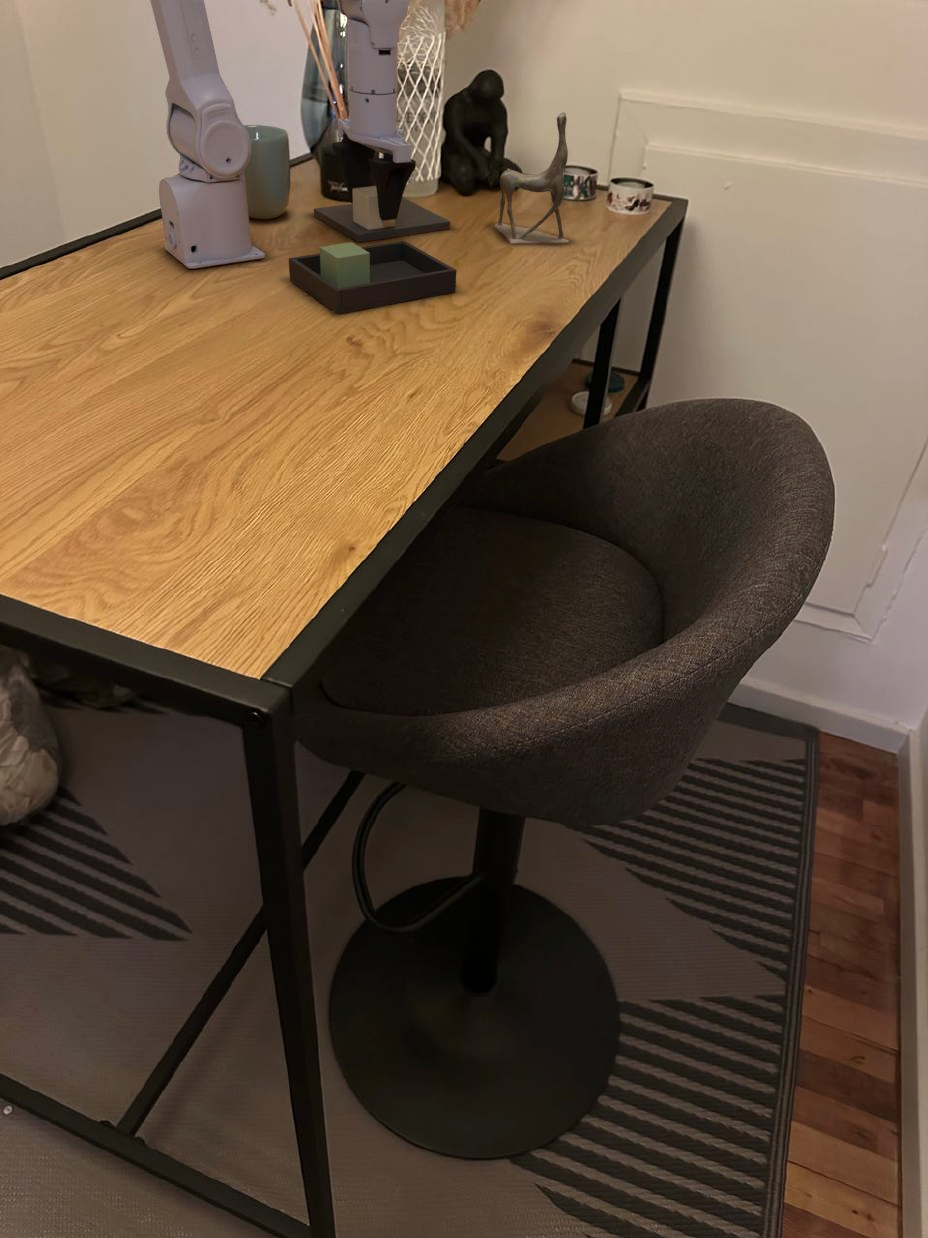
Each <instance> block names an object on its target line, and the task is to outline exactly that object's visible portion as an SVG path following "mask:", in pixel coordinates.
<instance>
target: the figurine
mask: <svg viewBox="0 0 928 1238" xmlns="http://www.w3.org/2000/svg"><path fill="white" fill-rule="evenodd" d="M567 121H568V120H567V113H565V112H561V113H560V114H559V115H557V117H556V126H557V131H558V143H557V147H556V148H557V149H556V152H555V154H554V157H553V159H552V161H551V163H550V165H549V166H548V167H547V168H546V169H545V170H544V171H542V172H539V173H532V174H530V173H529V174H525V173H521V172H519V171H516V170H513V169H510V167H509V168H506V170H505V171H503V172H502V173H501V175H500V177H499V187H500V191H501V199H500V203H499V204H500V207H499V217H498V222H496V223H495V225H493V227H494V229H495V230H497V231H498V232H499V233H501V234H502V235H503V236H504V238H505V239H506V240H507V242H508V243H509V244H512V245H552V244H569V240H568V239H566V238H564V231H563V225H562V218H561V213H560V209H559V208H560V206H561V205H562V203H563V201H564V197H565V180H564V179H565V178H564V176H565V175H564V174H565V170H566V165H567V163H568V157H569V150H568V145H567V139H566V129H567V127H566V126H567ZM516 188H520V189H523V190H525V191H528V192H532V193H546V192H547V193H548V192H549V193H550V195H551V201H552V206H551V208H550V209H549V211H548V212H546V214H545V215H543V217H542V218H541V219H540V220H538V221H537V222H536V223H535V224H534V225H533V226H531V227H530V228H528V227H523V226H518V225H515V221H514V215H513V214H514V213H513V205H512V203H513V195H514V192H515V190H516ZM506 203H507V208H506V213H507V216H508V219H509V222H510V224H507V223H503V218H504V211H505V204H506ZM552 214H555V217H556V224H557V228H558V229H557V230H558V236H557V235H553V234H549V233H547V232H543V231H540V230H536V229H537V228H538V227H540V225H542V224H543V223H544V222H545V221H547V219H548V218H549V217H550V216H551V215H552Z"/></svg>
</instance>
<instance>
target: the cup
mask: <svg viewBox="0 0 928 1238" xmlns="http://www.w3.org/2000/svg"><path fill="white" fill-rule="evenodd" d="M243 125H244V126H245V128H246V129H247V131H248V133H249V136H250V140H251V148H252V149H251V156H250V160H249V162H248V164H247V166H246V168H245V169H244V170H245V173H244V174H245V182H246V193H247V204H248V216H249V218H252V219H255V220H256V219H257V220H271V219H272V220H273V219H276V218H278V217H280V216H281V215H283V214H284V213H285V212H286V210H287V208H288V206H289V202H290V197H291V183H292V182H291V180H292V179H291V156H290V140H289V139H290V138H289V134H288V131H287V130H286V129H284V128H280V127H276V126H272V125H271V126H270V125H262V124H243Z"/></svg>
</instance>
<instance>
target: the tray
mask: <svg viewBox="0 0 928 1238" xmlns="http://www.w3.org/2000/svg"><path fill="white" fill-rule="evenodd" d="M360 247H361V248H362V249H364V250H365V251H367V252H369V253H370V283H367V284H362V285H356V286H350V287H344V288H337V287H336V286H334V285H333V284H331V283H330V282H328V281H327V280H325V279H324V278H323V277H321V265H320V252H318V253H314V254H313V253H312V254H307V255H301V256H294V257H288V269H289V270H288V271H289V281H290V282H291V283H293V284H294V285H296V286H297V287H299V288H300V289H301V290H303V291H304V292H305V293H307V294H308V295H309V296H311V297H312V298H314V299H316V301H318V302H319V303H321V304H322V305H324V306H325V307H326V308H328V309H329V310H330V311H332V312H333V313H334V314H336V315H340V314H341V315H342V314H347V313H351V312H357V311H362V310H367V309H373V308H377V307H378V308H379V307H383V306H384V307H385V306H388V305H395V304H399V303H404V302H411V301H414V300H415V301H416V300H421V299H426V298H431V297H438V296H442V295H447V294H453V293H456V287H457V272H458V271H457V269H455V268H454V267H452V266H450V265H449V264H447V263H445V262H443V261H441V260H440V259H438V258H436V257H434V256H433V255H431V254H430V253H427V252H425V251H424V250H421V249H420V248H418V247H417V246H415V245H413V244H411V243H410V242H407V241H406V240H400V241H399V240H398V241H393V242H386V243H379V244H374V245H373V244H372V245H366V246H360Z"/></svg>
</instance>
